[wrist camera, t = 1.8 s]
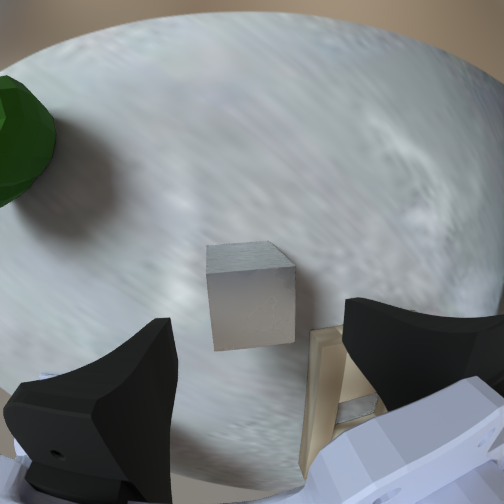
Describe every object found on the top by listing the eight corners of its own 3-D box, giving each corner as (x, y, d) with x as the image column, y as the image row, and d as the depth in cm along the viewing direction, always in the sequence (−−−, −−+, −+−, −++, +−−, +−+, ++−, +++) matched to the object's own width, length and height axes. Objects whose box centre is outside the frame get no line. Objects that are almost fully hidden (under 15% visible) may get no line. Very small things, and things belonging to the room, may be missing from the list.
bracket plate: (298, 463, 25) (304, 479, 23) (310, 330, 21) (322, 347, 18) (377, 440, 26) (386, 453, 24) (413, 309, 22) (430, 321, 20)
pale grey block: (211, 303, 19) (214, 351, 13) (206, 245, 18) (206, 273, 12) (270, 298, 20) (294, 342, 14) (268, 240, 19) (295, 265, 13)
